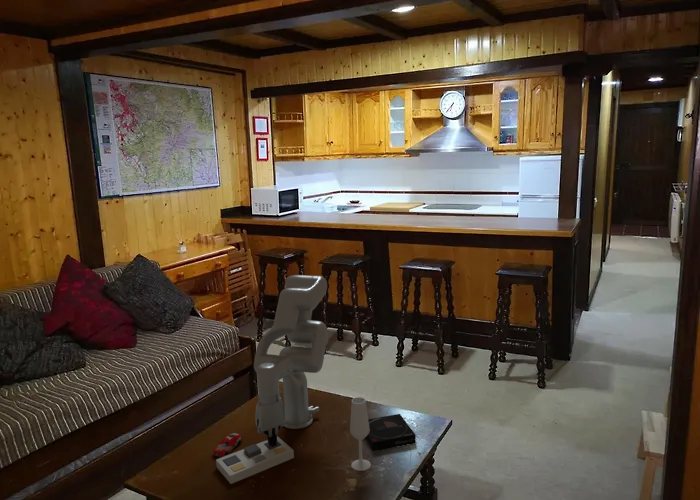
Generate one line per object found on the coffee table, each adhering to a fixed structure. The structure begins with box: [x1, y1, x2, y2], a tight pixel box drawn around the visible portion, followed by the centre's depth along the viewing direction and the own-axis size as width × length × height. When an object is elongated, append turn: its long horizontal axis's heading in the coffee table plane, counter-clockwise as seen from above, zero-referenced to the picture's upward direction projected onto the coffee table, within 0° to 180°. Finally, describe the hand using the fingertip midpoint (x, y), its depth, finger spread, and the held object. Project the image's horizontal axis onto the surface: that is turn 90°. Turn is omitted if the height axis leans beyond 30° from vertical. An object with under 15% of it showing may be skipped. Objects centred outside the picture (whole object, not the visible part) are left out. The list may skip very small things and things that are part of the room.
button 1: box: [223, 455, 240, 466], centre depth 185 cm, size 4×4×3 cm
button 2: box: [265, 441, 281, 450], centre depth 194 cm, size 4×4×3 cm
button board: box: [215, 435, 295, 485], centre depth 188 cm, size 24×12×3 cm, turn 126°
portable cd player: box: [364, 413, 417, 452], centre depth 202 cm, size 16×17×4 cm
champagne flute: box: [349, 396, 372, 472], centre depth 182 cm, size 7×7×24 cm
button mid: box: [243, 443, 261, 458], centre depth 189 cm, size 4×4×3 cm
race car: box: [212, 432, 243, 458], centre depth 198 cm, size 13×5×4 cm, turn 155°
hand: (272, 444), depth 194 cm, fingers closed
